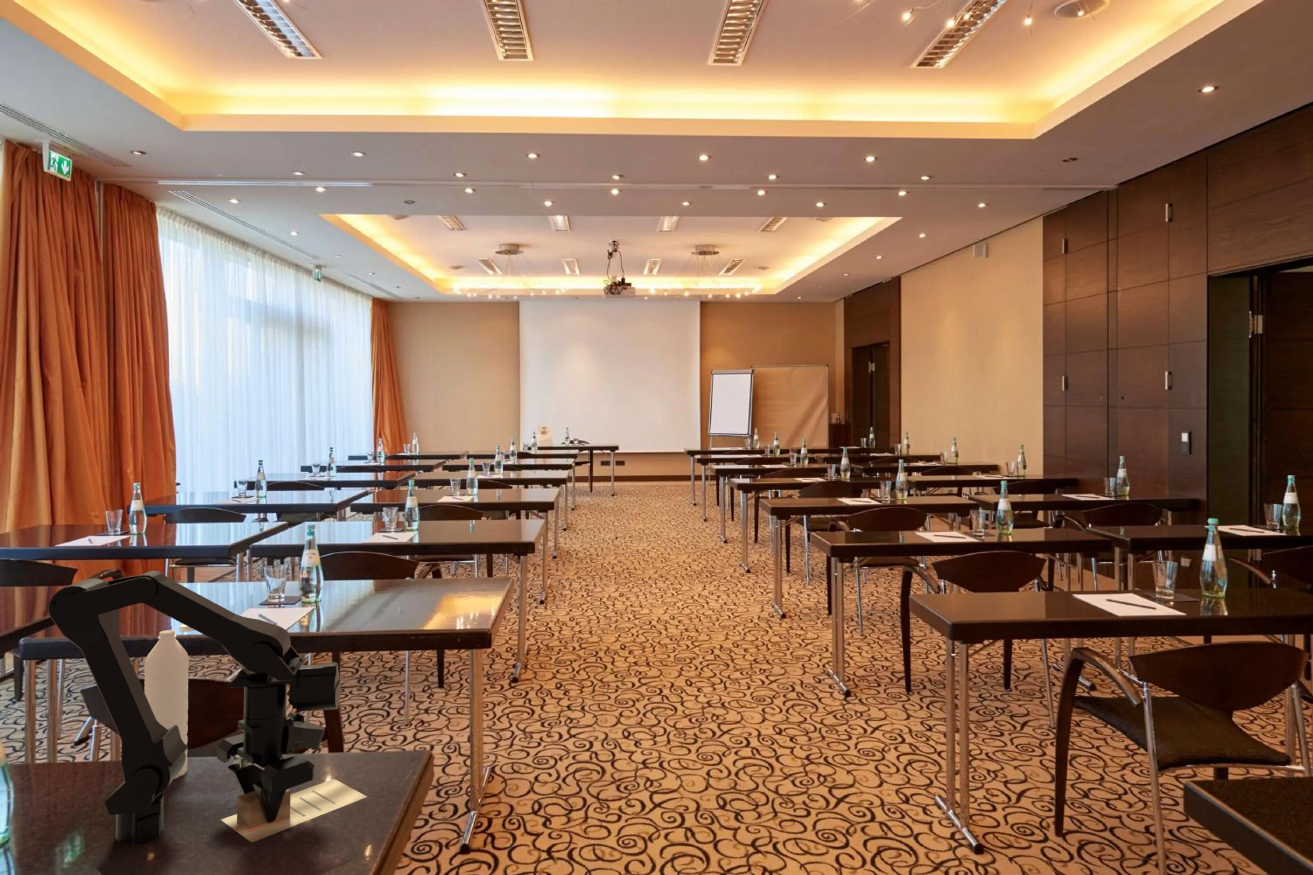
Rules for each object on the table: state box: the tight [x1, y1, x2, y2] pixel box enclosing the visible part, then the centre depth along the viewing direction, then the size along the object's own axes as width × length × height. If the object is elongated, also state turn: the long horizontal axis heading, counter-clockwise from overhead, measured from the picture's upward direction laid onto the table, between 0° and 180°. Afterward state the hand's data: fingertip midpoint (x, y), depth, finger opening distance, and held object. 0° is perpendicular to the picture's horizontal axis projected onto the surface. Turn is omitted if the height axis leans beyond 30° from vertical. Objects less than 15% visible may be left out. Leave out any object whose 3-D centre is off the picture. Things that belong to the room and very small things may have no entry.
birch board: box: [220, 778, 368, 843], centre depth 120 cm, size 10×18×2 cm, turn 142°
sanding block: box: [236, 788, 292, 832], centre depth 116 cm, size 4×6×4 cm, turn 142°
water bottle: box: [143, 623, 195, 780], centre depth 135 cm, size 9×6×25 cm
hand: (263, 816), depth 116 cm, fingers open, 4 cm apart
